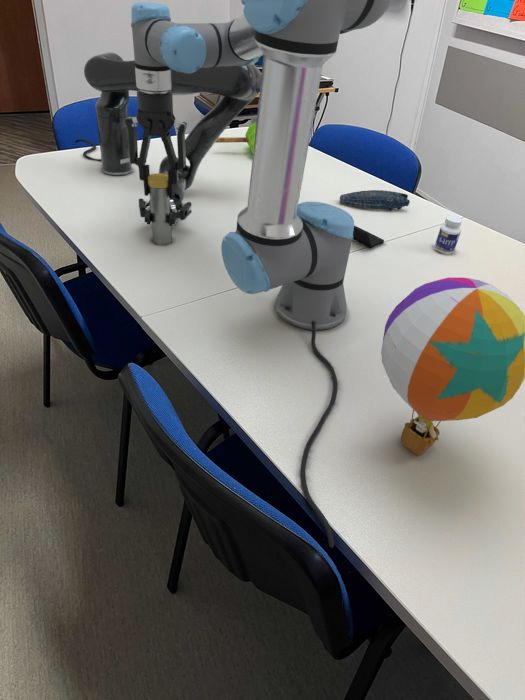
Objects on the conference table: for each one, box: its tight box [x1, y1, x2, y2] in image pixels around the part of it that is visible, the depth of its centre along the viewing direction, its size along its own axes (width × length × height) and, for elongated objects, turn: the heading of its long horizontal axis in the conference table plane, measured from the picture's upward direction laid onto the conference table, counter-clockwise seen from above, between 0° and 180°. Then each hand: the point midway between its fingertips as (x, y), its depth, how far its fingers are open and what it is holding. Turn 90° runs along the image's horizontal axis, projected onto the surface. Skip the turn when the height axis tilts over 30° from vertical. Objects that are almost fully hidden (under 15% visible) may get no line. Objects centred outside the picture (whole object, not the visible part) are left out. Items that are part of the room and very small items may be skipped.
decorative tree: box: [214, 122, 256, 154], centre depth 186 cm, size 18×10×30 cm
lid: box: [148, 172, 169, 188], centre depth 123 cm, size 5×5×2 cm
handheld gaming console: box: [352, 224, 385, 250], centre depth 139 cm, size 12×7×10 cm
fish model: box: [339, 189, 411, 211], centre depth 158 cm, size 7×21×5 cm, turn 84°
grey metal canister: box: [149, 186, 173, 246], centre depth 128 cm, size 5×5×16 cm
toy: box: [380, 277, 525, 456], centre depth 75 cm, size 20×20×30 cm
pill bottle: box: [434, 215, 463, 255], centre depth 137 cm, size 5×5×9 cm
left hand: (159, 221), depth 127 cm, fingers closed on grey metal canister, 4 cm apart
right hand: (159, 194), depth 125 cm, fingers closed on lid, 5 cm apart
